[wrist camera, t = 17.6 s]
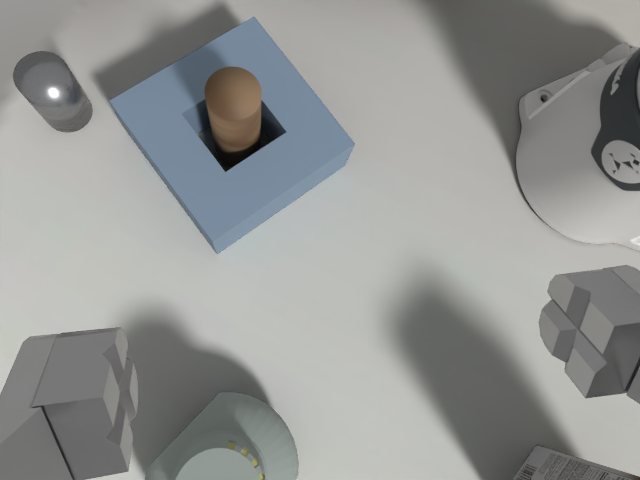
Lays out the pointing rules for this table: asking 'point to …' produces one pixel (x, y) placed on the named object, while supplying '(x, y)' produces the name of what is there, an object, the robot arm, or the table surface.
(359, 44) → the table surface
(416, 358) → the table surface
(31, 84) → the short pin
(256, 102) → the long pin
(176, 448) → the air freshener
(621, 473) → the coffee box
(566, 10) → the table surface
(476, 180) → the table surface
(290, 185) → the collar block
